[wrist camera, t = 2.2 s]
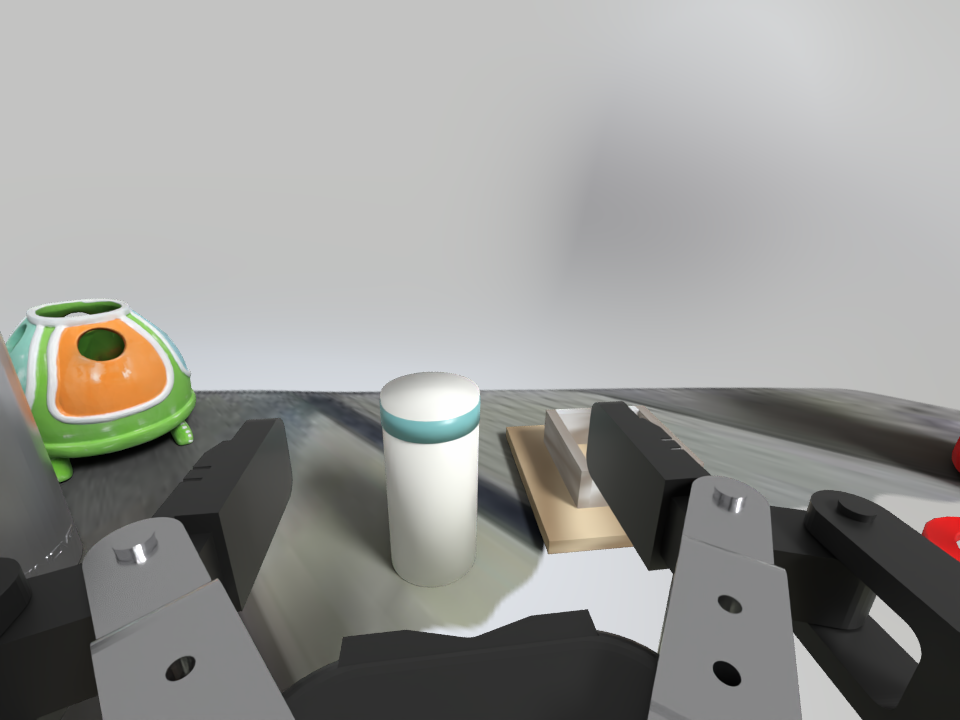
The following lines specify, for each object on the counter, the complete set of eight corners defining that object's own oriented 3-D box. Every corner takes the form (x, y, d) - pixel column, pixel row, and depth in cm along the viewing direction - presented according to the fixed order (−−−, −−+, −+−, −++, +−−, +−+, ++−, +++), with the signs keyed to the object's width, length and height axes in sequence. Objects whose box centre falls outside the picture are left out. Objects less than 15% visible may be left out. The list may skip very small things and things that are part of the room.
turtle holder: (155, 383, 50) (127, 277, 46) (227, 438, 39) (199, 307, 35) (-1, 424, 41) (-54, 296, 36) (38, 510, 30) (-31, 345, 26)
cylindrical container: (388, 592, 25) (374, 417, 21) (392, 525, 29) (382, 373, 26) (482, 583, 25) (487, 412, 21) (471, 519, 30) (473, 370, 26)
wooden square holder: (548, 554, 27) (553, 501, 26) (506, 436, 40) (507, 397, 39) (754, 535, 29) (769, 485, 28) (650, 428, 42) (657, 390, 41)
